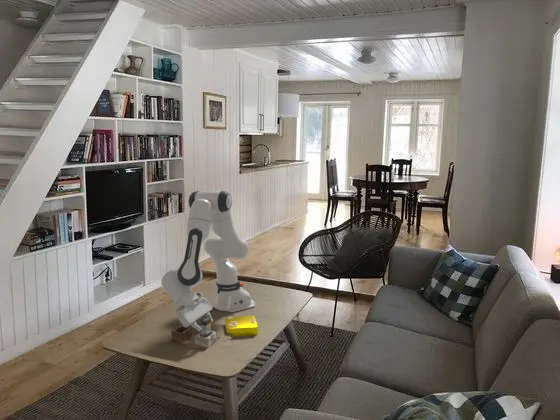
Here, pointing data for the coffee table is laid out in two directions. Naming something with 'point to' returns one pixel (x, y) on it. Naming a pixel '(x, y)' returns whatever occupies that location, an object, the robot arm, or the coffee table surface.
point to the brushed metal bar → (206, 327)
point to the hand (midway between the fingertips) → (206, 326)
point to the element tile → (241, 326)
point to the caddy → (192, 338)
